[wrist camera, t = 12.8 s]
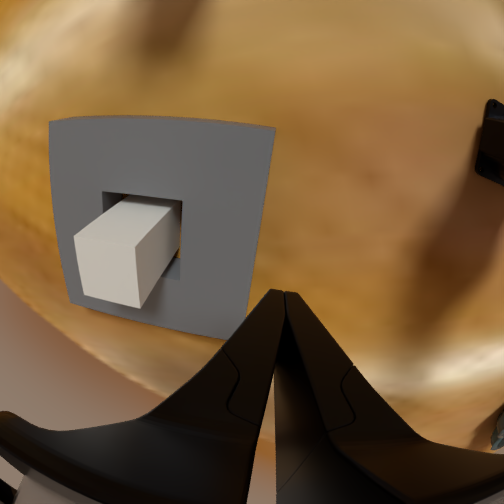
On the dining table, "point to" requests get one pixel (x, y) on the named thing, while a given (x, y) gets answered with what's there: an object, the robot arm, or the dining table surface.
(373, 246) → the dining table surface
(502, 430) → the bonsai tree
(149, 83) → the dining table surface
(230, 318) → the socket block
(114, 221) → the plug peg
